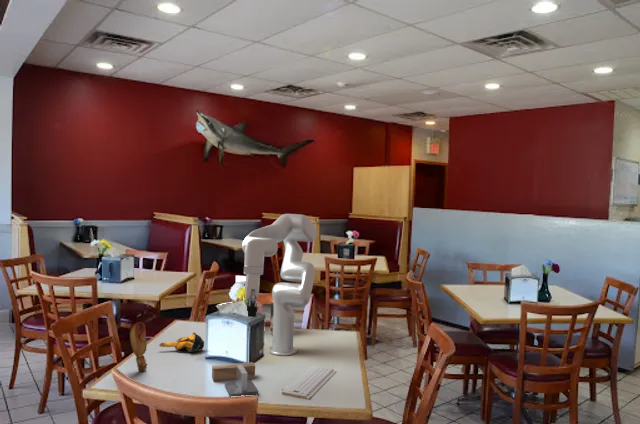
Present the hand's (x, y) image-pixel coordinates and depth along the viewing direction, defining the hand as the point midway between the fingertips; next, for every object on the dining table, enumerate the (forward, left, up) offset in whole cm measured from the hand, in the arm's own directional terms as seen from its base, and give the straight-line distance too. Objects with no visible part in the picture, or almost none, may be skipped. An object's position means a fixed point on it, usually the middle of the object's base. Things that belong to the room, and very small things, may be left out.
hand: (251, 313), depth 198 cm
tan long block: (0, -6, -25) cm, 26 cm away
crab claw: (-16, -40, -25) cm, 50 cm away
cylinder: (-61, +7, -25) cm, 66 cm away
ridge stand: (+13, -6, -25) cm, 29 cm away
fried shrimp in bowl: (-37, -21, -25) cm, 50 cm away
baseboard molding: (+13, +22, -26) cm, 36 cm away
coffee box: (-53, +29, -25) cm, 66 cm away
